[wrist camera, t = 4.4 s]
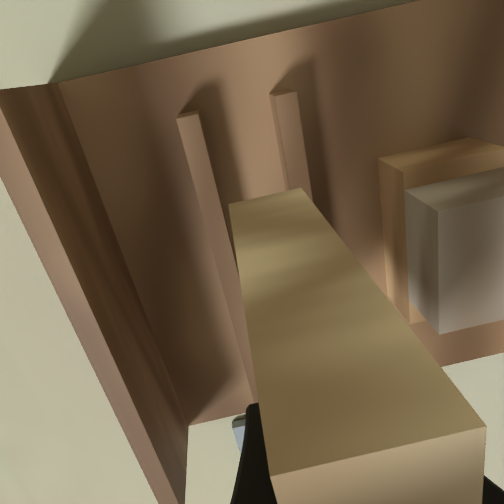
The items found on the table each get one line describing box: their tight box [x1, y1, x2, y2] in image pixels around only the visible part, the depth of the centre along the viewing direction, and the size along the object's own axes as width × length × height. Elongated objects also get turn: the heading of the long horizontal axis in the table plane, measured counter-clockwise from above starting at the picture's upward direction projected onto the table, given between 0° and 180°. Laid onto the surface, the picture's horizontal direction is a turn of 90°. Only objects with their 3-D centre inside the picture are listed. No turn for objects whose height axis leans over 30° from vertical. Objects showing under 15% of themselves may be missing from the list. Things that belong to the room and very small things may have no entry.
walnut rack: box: [0, 0, 504, 504], centre depth 17 cm, size 20×18×6 cm
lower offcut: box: [378, 137, 504, 324], centre depth 18 cm, size 4×7×2 cm, turn 12°
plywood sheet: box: [228, 188, 487, 504], centre depth 9 cm, size 2×10×8 cm, turn 12°
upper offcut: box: [404, 167, 504, 335], centre depth 15 cm, size 4×5×2 cm
